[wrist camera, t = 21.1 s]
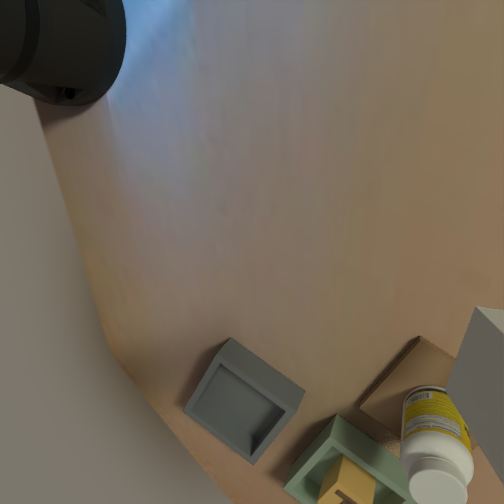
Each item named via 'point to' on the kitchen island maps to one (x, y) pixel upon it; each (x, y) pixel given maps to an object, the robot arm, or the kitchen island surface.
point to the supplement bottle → (435, 448)
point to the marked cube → (347, 484)
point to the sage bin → (358, 450)
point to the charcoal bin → (243, 401)
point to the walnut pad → (408, 383)
